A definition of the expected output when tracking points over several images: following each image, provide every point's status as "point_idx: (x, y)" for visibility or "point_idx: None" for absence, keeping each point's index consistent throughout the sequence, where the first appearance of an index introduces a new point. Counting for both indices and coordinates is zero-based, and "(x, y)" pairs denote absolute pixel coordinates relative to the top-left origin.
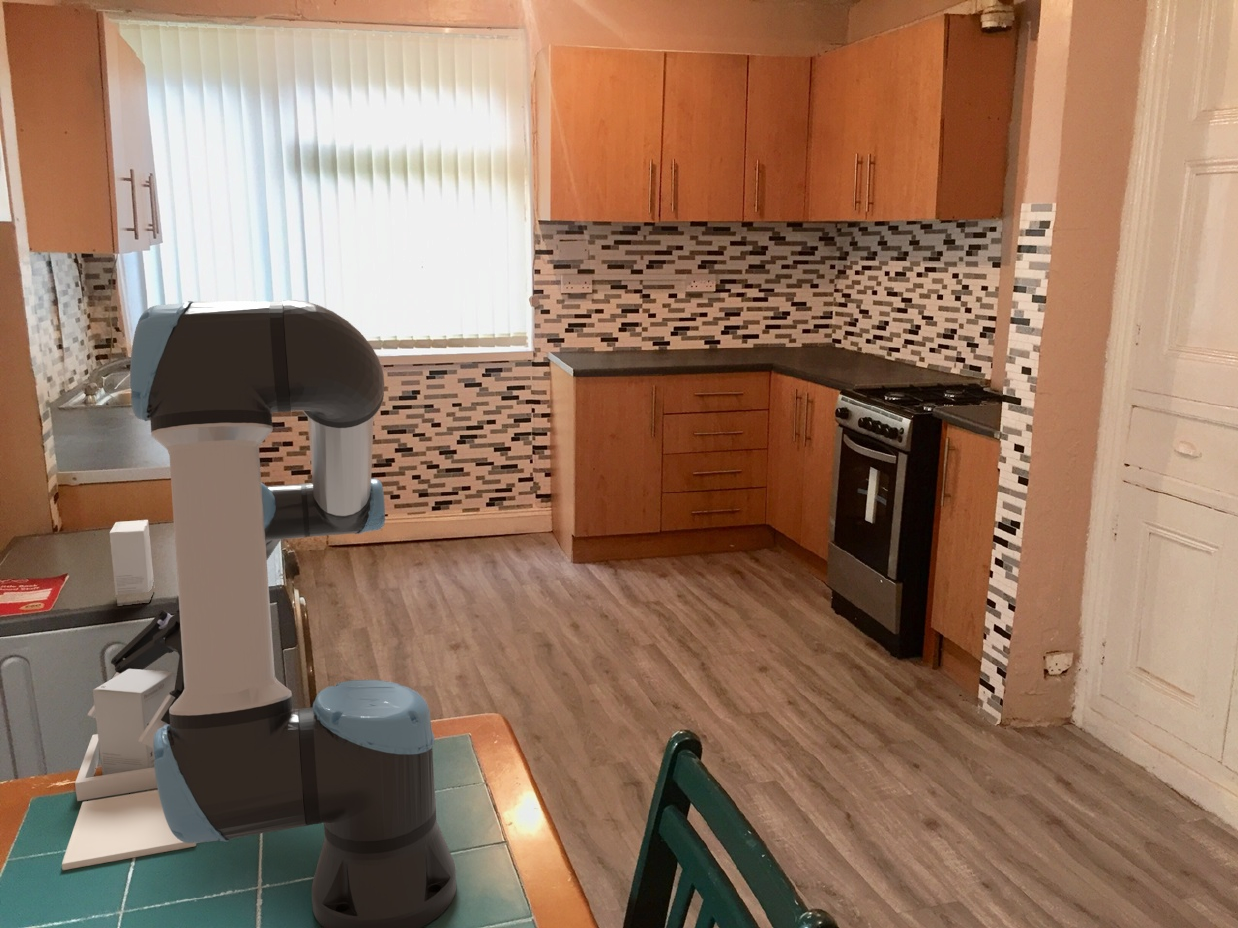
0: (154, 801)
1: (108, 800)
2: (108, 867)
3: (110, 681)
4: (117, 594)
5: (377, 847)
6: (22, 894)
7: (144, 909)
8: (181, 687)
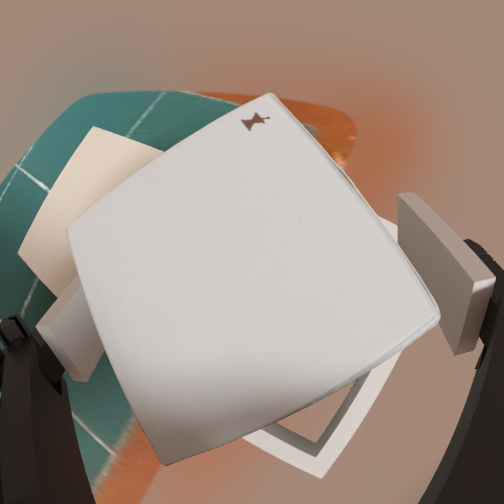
0: None
1: None
2: None
3: (300, 162)
4: None
5: None
6: (99, 100)
7: (8, 182)
8: (5, 357)
